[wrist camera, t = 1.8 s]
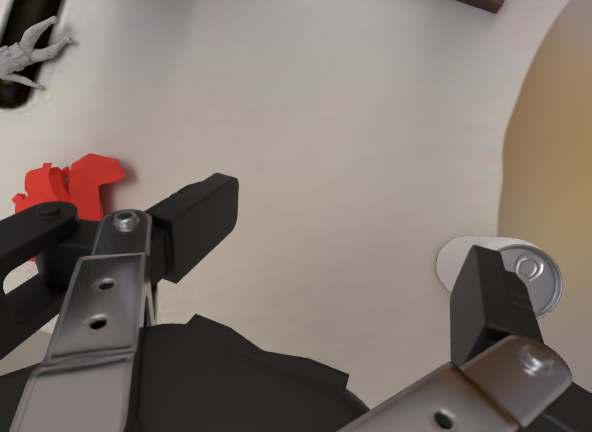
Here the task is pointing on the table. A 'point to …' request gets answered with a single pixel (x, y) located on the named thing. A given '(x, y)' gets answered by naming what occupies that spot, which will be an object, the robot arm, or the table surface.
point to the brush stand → (485, 4)
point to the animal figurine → (71, 185)
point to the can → (508, 267)
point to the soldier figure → (28, 53)
